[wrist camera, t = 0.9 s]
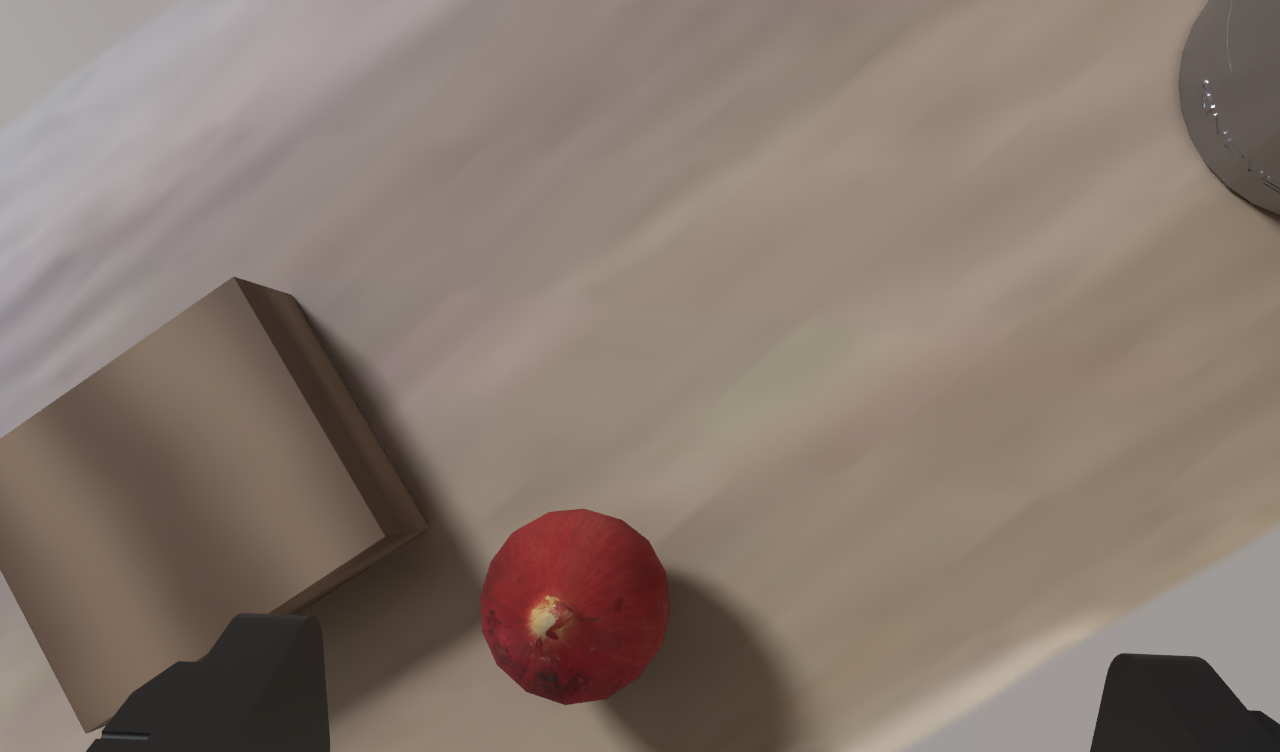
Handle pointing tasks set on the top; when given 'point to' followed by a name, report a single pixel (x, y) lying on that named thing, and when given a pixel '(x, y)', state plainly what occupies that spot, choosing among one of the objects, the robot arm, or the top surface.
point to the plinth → (191, 495)
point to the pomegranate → (575, 606)
